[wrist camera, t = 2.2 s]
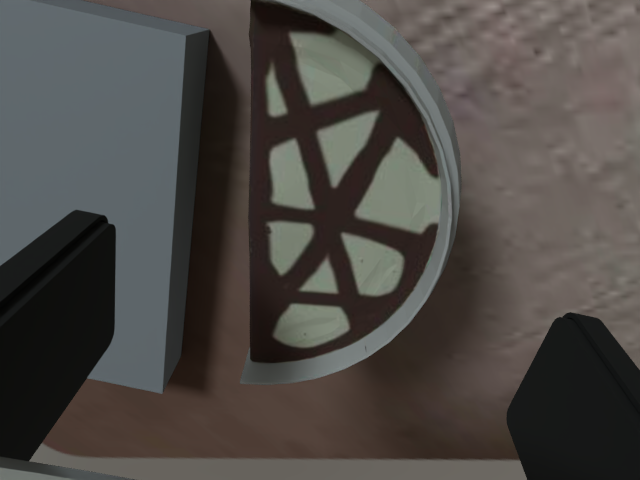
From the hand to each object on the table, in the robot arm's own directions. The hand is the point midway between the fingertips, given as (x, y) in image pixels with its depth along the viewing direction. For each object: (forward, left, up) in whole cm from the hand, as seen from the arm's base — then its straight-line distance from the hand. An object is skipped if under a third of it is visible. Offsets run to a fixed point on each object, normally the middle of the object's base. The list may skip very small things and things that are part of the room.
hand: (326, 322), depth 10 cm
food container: (0, -1, -13) cm, 13 cm away
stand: (+14, +5, -13) cm, 20 cm away
